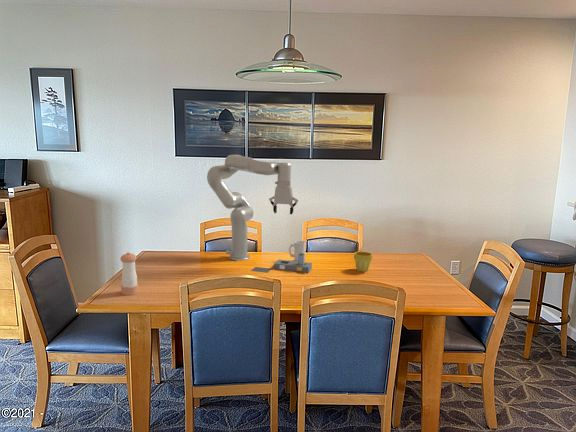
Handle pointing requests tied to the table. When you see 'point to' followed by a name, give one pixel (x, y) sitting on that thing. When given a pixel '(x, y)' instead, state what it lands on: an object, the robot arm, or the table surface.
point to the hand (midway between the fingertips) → (283, 213)
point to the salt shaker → (129, 274)
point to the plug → (301, 259)
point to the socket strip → (292, 266)
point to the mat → (261, 269)
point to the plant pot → (362, 260)
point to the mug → (297, 249)
